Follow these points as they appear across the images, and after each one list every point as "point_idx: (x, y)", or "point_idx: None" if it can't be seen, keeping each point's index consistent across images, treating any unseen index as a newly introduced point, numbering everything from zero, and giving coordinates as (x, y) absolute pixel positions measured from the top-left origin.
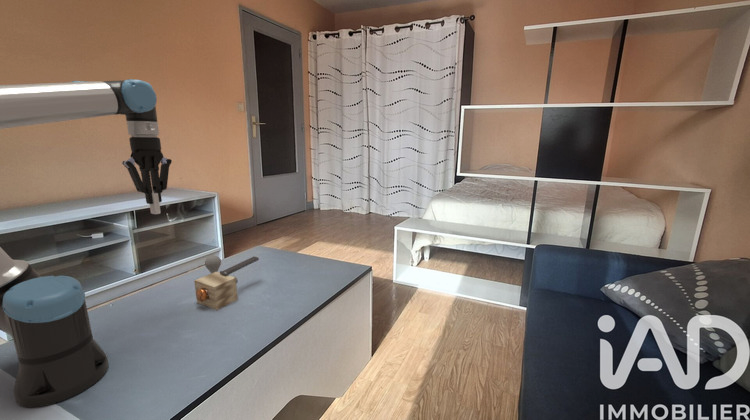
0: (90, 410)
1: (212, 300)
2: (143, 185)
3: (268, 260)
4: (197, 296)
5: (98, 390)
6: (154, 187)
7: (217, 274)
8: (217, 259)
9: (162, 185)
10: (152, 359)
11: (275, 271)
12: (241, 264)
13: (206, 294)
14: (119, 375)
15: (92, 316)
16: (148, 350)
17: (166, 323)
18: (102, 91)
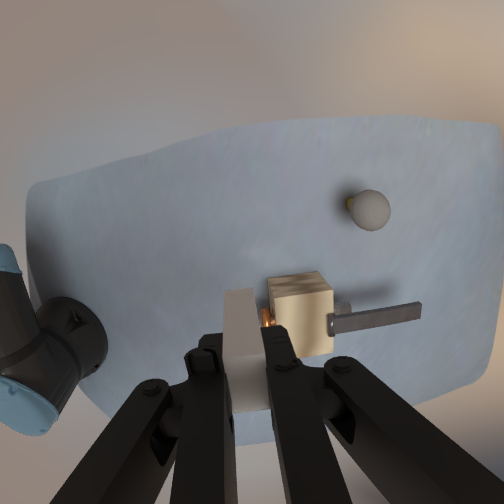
0: (91, 397)
1: None
2: (169, 468)
3: (468, 210)
4: (260, 311)
5: (97, 379)
6: (283, 390)
7: (324, 307)
8: (378, 228)
9: (333, 427)
10: (149, 377)
11: (437, 275)
12: (378, 322)
13: None
14: (115, 374)
15: (117, 165)
16: (150, 356)
17: (194, 308)
18: None
